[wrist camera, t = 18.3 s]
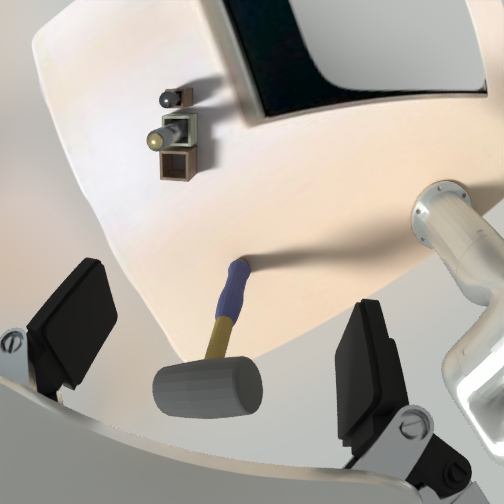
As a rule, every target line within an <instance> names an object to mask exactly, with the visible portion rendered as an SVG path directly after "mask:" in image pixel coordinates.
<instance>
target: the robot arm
mask: <svg viewBox="0 0 504 504" xmlns="http://www.w3.org/2000/svg"><path fill="white" fill-rule="evenodd" d="M411 225H412V229H413V232H414V234H415V236H416V237H417V239H418V240H419V241H420V242H421V243H422V244H423V245H425V246H427V247H429V248H434V249H435V250H436V252H437V253H438V255H439V256H440V258H441V259H442V261H443V262H444V264H445V266H446V267H447V269H448V271H449V272H450V274H451V275H452V277H453V279H454V280H455V282H456V284H457V285H458V287H459V289H460V290H461V292H462V293H463V295H464V296H465V297H466V298H467V299H468V300H469V301H471V302H473V303H475V304H477V305H482V306H487V308H486V309H485V311H484V312H483V313H482V314H481V316H480V317H479V319H478V320H477V321H476V322H475V323H474V324H473V326H472V327H471V328H470V329H469V330H468V331H467V332H466V333H465V334H464V335H463V336H462V337H461V338H460V340H458V341H457V343H456V344H455V345H454V346H453V347H452V348H451V349H450V350H449V351H448V353H447V354H446V356H445V358H444V360H443V362H442V368H441V371H442V378H443V381H444V383H445V386H446V388H447V390H448V392H449V394H450V396H451V397H452V399H453V400H454V402H455V403H456V405H457V406H458V408H459V410H460V411H461V413H462V414H463V416H464V417H465V419H466V420H467V422H468V423H469V425H470V427H471V428H472V430H473V432H474V433H475V434H476V436H477V438H478V440H479V441H480V443H481V445H482V446H483V448H484V450H485V451H486V453H487V454H488V455H489V457H490V458H491V459H492V460H493V461H494V462H495V463H497V464H498V465H500V466H503V467H504V239H503V238H502V237H501V236H500V235H499V234H498V233H497V231H496V230H495V229H494V228H493V227H492V226H491V225H490V224H489V223H488V222H487V221H486V220H484V219H483V218H482V217H481V216H480V215H479V214H478V213H477V212H476V211H475V210H474V209H473V208H472V204H471V200H470V197H469V195H468V193H467V192H466V191H465V190H464V189H463V188H462V187H461V186H460V185H458V184H456V183H454V182H451V181H440V182H437V183H434V184H432V185H430V186H429V187H427V188H426V189H425V190H424V191H423V192H422V193H421V194H420V195H419V197H418V198H417V200H416V202H415V204H414V206H413V209H412V214H411ZM117 317H118V315H117V311H116V308H115V304H114V301H113V298H112V294H111V291H110V287H109V283H108V280H107V276H106V272H105V268H104V265H102V264H101V261H100V260H97V259H93V258H85V259H84V260H83V261H82V262H81V263H80V264H79V265H78V266H77V267H76V268H75V269H74V271H72V272H71V274H70V275H69V276H68V277H67V278H66V279H65V280H64V281H63V283H62V284H61V285H60V286H59V287H58V288H57V289H56V291H55V292H54V293H53V294H52V295H51V296H50V298H49V299H48V300H47V301H46V302H45V304H44V305H43V306H42V307H41V309H40V310H39V311H38V312H37V313H36V315H35V316H34V317H33V318H32V320H31V321H30V322H29V324H28V325H27V326H26V327H27V329H28V332H27V333H25V331H24V330H22V329H21V328H12V329H10V330H8V331H6V332H5V333H4V334H3V335H2V336H1V337H0V504H490V503H489V501H488V500H487V498H486V497H485V495H484V493H483V492H482V490H481V489H480V487H479V486H478V484H477V483H476V481H474V482H472V481H471V475H472V470H471V466H470V463H469V461H468V460H467V459H466V458H465V457H464V456H462V455H461V454H459V453H458V452H457V451H456V450H454V449H453V448H452V447H451V446H449V445H448V444H447V443H445V442H444V441H443V440H442V439H440V438H439V437H438V436H436V435H435V434H434V433H433V431H434V422H433V418H432V417H431V415H430V414H429V412H428V411H427V410H425V409H424V408H422V407H420V406H417V405H409V401H408V395H407V391H406V386H405V381H404V376H403V372H402V368H401V363H400V359H399V355H398V351H397V347H396V343H395V341H394V340H393V339H392V338H389V336H388V332H387V328H386V324H385V320H384V317H383V313H382V309H381V306H380V303H379V301H378V300H371V299H370V300H369V299H362V300H361V302H360V303H359V302H357V303H356V304H355V307H354V309H353V312H352V314H351V317H350V319H349V322H348V324H347V326H346V329H345V331H344V334H343V336H342V339H341V341H340V343H339V345H338V348H337V350H336V354H335V370H336V389H337V413H338V414H337V416H338V438H339V439H342V440H343V446H344V447H352V448H351V449H352V455H353V456H352V458H351V459H350V460H349V461H348V462H347V463H346V464H345V466H343V468H342V469H335V468H312V467H295V466H284V465H274V464H264V463H255V462H248V461H241V460H235V459H229V458H224V457H218V456H213V455H208V454H204V453H199V452H195V451H190V450H186V449H182V448H178V447H174V446H171V445H167V444H163V443H160V442H156V441H153V440H150V439H146V438H143V437H140V436H137V435H135V434H131V433H128V432H126V431H123V430H120V429H118V428H115V427H112V426H110V425H107V424H104V423H102V422H100V421H97V420H95V419H92V418H90V417H88V416H85V415H83V414H81V413H79V412H76V411H74V410H72V409H70V408H68V407H66V406H64V405H63V401H62V395H61V390H60V387H61V386H62V384H63V385H64V386H65V387H67V388H70V389H72V390H75V388H76V386H77V385H79V384H81V382H82V380H83V379H84V377H85V375H86V373H87V371H88V370H89V368H90V366H91V364H92V362H93V361H94V359H95V357H96V355H97V353H98V352H99V350H100V349H101V347H102V345H103V343H104V342H105V340H106V338H107V337H108V335H109V333H110V332H111V330H112V328H113V327H114V325H115V324H116V321H117Z"/></svg>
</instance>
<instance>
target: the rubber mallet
mask: <svg viewBox="0 0 504 504" xmlns="http://www.w3.org/2000/svg"><path fill="white" fill-rule="evenodd" d="M250 273H251V268H250V266H249V264H248V263H247V262H246V261H245V260H243V259H237V260H235V261H233V262H232V263H231V264H230V266H229V269H228V278H227V281H226V285H225V287H224V289H223V291H222V293H221V295H220V298H219V301H218V304H217V309H216V315H215V319H216V322H215V325H214V328H213V332H212V335H211V338H210V342H209V345H208V349H207V352H206V355H205V359H203V360H198V361H192V362H187V363H182V364H177V365H172V366H167V367H163V368H162V369H160V370H159V371H158V372H157V374H156V375H155V377H154V381H153V396H154V400H155V402H156V404H157V406H158V408H159V409H160V410H161V411H162V412H163V413H165V414H167V415H169V416H175V417H184V418H200V419H201V418H202V419H215V418H227V417H235V416H242V415H249V414H253V413H254V412H256V411H257V410H258V408H259V406H260V404H261V401H262V395H263V387H262V380H261V376H260V373H259V370H258V368H257V366H256V365H255V363H254V362H253V361H252V360H251V359H250V358H247V357H244V356H240V357H227V358H224V357H225V353H226V350H227V346H228V342H229V338H230V335H231V331H232V327H233V326H234V325H235V323H236V321H237V319H238V316H239V314H240V311H241V308H242V304H243V295H244V289H245V285H246V281H247V279H248V277H249V275H250Z"/></svg>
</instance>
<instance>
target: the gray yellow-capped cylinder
mask: <svg viewBox="0 0 504 504" xmlns="http://www.w3.org/2000/svg"><path fill="white" fill-rule="evenodd" d="M186 136H188V120H185V119H182V120H179V121H177V122H174V123H171V124H169V125H166V126H163V127H161V128H158V129H156V130H153V131H151V132H150V133H149V134H148V136H147V144H148V146H149V148H150V149H151V150H153V151H161V150H163V149H164V148H166V147H168V146H170V145H171V144H173V143H175V142H177V141H179V140H180V139H182V138H184V137H186Z"/></svg>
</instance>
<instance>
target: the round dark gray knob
mask: <svg viewBox="0 0 504 504" xmlns="http://www.w3.org/2000/svg"><path fill="white" fill-rule="evenodd" d="M181 94H182V93H177V94H176V93H175V92H174V91H166V92H164V93H162V94H161V96H160V98H159V102H160V105H161V106H162V107H164V108H171V107H174V106H175V105H176V104H177V103H178V102H181Z"/></svg>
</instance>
